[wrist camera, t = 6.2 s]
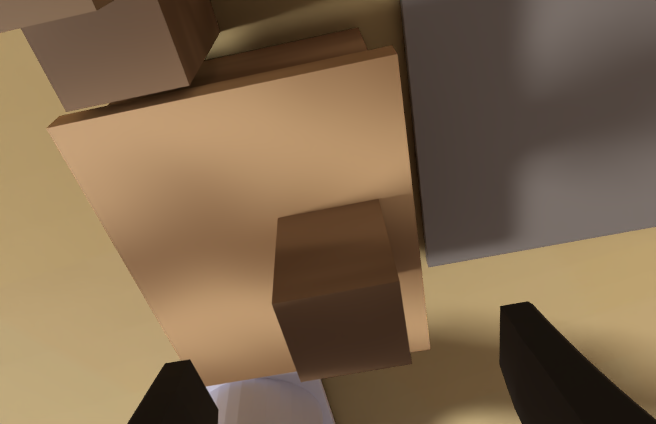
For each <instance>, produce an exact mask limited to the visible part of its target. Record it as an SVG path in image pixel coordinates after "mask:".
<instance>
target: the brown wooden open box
mask: <svg viewBox="0 0 656 424" xmlns="http://www.w3.org/2000/svg"><path fill="white" fill-rule="evenodd" d="M21 30H22V31H23V33H24V35H25V37H26V39H27V41H28V42H29V44H30V46H31V48H32V50H33V52H34V54H35V55H36V57H37V59H38V61H39V63H40V65H41V66H42V68H43V70H44V72H45V74H46V76H47V77H48V79H49V81H50V83H51V85H52V87H53V89H54V90H55V92H56V94H57V96H58V98H59V100H60V101H61V103H62V105H63V107H64V109H65V111H66V112H68V111H73V110H78V109H82V108H87V107H92V106H96V105H101V104H106V103H109V104H108V106H109V105H114V104H118V103H123V102H128V101H132V100H137V99H142V98H146V97H151V96H156V95H161V94H165V93H170V92H175V91H179V90H184V89H189V88H193V87H198V86H203V85H207V84H212V83H217V82H221V81H226V80H231V79H236V78H240V77H245V76H250V75H254V74H259V73H264V72H268V71H273V70H278V69H282V68H287V67H292V66H297V65H301V64H306V63H311V62H315V61H320V60H325V59H329V58H334V57H339V56H343V55H348V54H353V53H357V52H362V51H367V47H366V45H365V43H364V40H363V38H362V35H361V33H360V31H359V28H353V29H349V30H344V31H340V32H335V33H330V34H326V35H321V36H317V37H312V38H307V39H303V40H298V41H294V42H289V43H284V44H280V45H275V46H271V47H266V48H261V49H257V50H252V51H247V52H243V53H238V54H234V55H229V56H224V57H220V58H215V59H211V60H206V61H204V59H205V58H206V56H207V54H208V52H209V51H210V49H211V47H212V46H213V44H214V42H215V40H216V39H217V37H218V35H219V33H220V30H219V27H218V24H217V21H216V18H215V15H214V11H213V8H212V5H211V2H210V0H114V1H112V2H111V3H109V4H107V5H106V6H104V7H102V8H100V9H99V10H97V11H93V12H89V13H84V14H80V15H76V16H71V17H67V18H63V19H58V20H54V21H49V22H45V23H41V24H36V25H32V26H28V27H23V28H21Z"/></svg>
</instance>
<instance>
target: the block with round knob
mask: <svg viewBox="0 0 656 424" xmlns="http://www.w3.org/2000/svg"><path fill="white" fill-rule="evenodd" d="M112 1H114V0H0V33H1V32H6V31H10V30H14V29H19V28H23V27H28V26H32V25H36V24H41V23H45V22H49V21H54V20H58V19H63V18H67V17H71V16H76V15H80V14H84V13H89V12H93V11H97V10H99V9H100V8H102V7H104V6H106V5H107V4H109V3H111V2H112Z"/></svg>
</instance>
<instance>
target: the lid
mask: <svg viewBox="0 0 656 424" xmlns="http://www.w3.org/2000/svg"><path fill="white" fill-rule="evenodd" d="M46 129H47V131H48V132H49V134H50V136H51V138H52V139H53V141H54V143H55V144H56V146H57V148H58V150H59V151H60V153H61V155H62V156H63V158H64V160H65V162H66V163H67V165H68V167H69V169H70V170H71V172H72V174H73V175H74V177H75V179H76V181H77V182H78V184H79V186H80V187H81V189H82V191H83V193H84V194H85V196H86V198H87V200H88V201H89V203H90V205H91V206H92V208H93V210H94V212H95V213H96V215H97V217H98V218H99V220H100V222H101V224H102V225H103V227H104V229H105V230H106V232H107V234H108V236H109V237H110V239H111V241H112V243H113V244H114V246H115V248H116V249H117V251H118V253H119V255H120V256H121V258H122V260H123V261H124V263H125V265H126V267H127V268H128V270H129V272H130V274H131V275H132V277H133V279H134V280H135V282H136V284H137V286H138V287H139V289H140V291H141V292H142V294H143V296H144V298H145V299H146V301H147V303H148V305H149V306H150V308H151V310H152V311H153V313H154V315H155V317H156V318H157V320H158V322H159V323H160V325H161V327H162V329H163V330H164V332H165V334H166V335H167V337H168V339H169V341H170V342H171V344H172V346H173V348H174V349H175V351H176V353H177V354H178V356H179V358H180V360H181V361H183V360H189V359H190V360H191V362H192V363H193V365H194V367H195V369H196V371H197V372H198V374H199V376H200V378H201V379H202V381H203V383H204V385H205V387H206V386H212V385H218V384H224V383H230V382H236V381H242V380H248V379H254V378H260V377H266V376H272V375H278V374H284V373H290V372H296V371H297V374H298V376H299V379H300V382H305V381H311V380H317V379H323V378H329V377H335V376H341V375H347V374H353V373H360V372H366V371H372V370H378V369H384V368H390V367H396V366H402V365H408V364H412V361H411V354H410V352H416V351H422V350H428V349H430V341H429V332H428V323H427V314H426V305H425V296H424V287H423V278H422V269H421V260H420V251H419V242H418V233H417V224H416V215H415V206H414V197H413V188H412V179H411V170H410V162H409V153H408V144H407V135H406V126H405V117H404V108H403V99H402V90H401V81H400V72H399V63H398V54H397V52H396V51H395V49H394V47H393V46H392V45H390V46H386V47H381V48H376V49H372V50H367V51H362V52H357V53H353V54H348V55H343V56H339V57H334V58H329V59H325V60H320V61H315V62H311V63H306V64H301V65H297V66H292V67H287V68H282V69H278V70H273V71H268V72H264V73H259V74H254V75H250V76H245V77H240V78H236V79H231V80H226V81H221V82H217V83H212V84H207V85H203V86H198V87H193V88H189V89H184V90H179V91H175V92H170V93H165V94H161V95H156V96H151V97H146V98H142V99H137V100H132V101H128V102H123V103H118V104H114V105H109V106H104V107H100V108H95V109H90V110H86V111H81V112H76V113H71V114H67V115H62V116H59V117H58V118H57V119H56V120H55V121H54V122H53V123H51V124H50V125H49V126H48V127H47V128H46Z"/></svg>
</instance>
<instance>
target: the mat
mask: <svg viewBox="0 0 656 424" xmlns="http://www.w3.org/2000/svg"><path fill="white" fill-rule="evenodd" d="M400 5H401V15H402V24H403V34H404V44H405V54H406V63H407V73H408V83H409V93H410V103H411V112H412V122H413V132H414V142H415V152H416V161H417V171H418V181H419V191H420V201H421V210H422V220H423V230H424V240H425V250H426V259H427V264H428V267H433V266H439V265H445V264H450V263H456V262H461V261H467V260H472V259H478V258H484V257H489V256H495V255H500V254H506V253H512V252H517V251H523V250H528V249H534V248H539V247H545V246H551V245H556V244H562V243H567V242H573V241H579V240H584V239H590V238H595V237H601V236H606V235H612V234H618V233H623V232H629V231H634V230H640V229H646V228H651V227H656V0H400Z"/></svg>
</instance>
